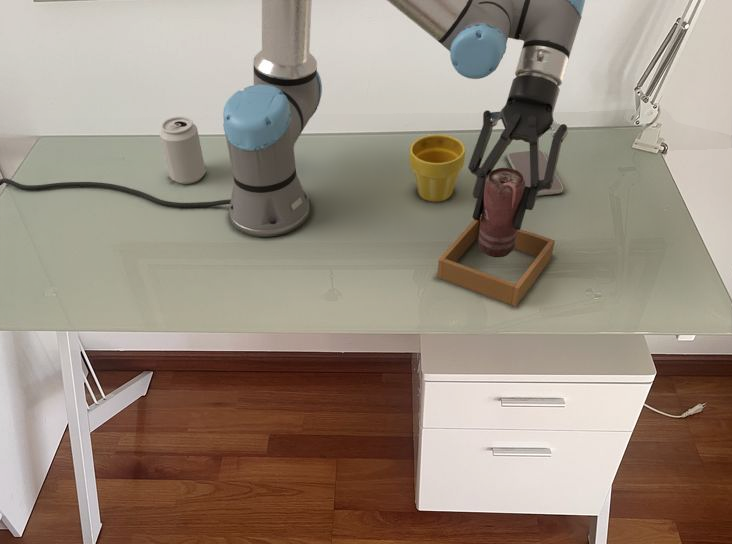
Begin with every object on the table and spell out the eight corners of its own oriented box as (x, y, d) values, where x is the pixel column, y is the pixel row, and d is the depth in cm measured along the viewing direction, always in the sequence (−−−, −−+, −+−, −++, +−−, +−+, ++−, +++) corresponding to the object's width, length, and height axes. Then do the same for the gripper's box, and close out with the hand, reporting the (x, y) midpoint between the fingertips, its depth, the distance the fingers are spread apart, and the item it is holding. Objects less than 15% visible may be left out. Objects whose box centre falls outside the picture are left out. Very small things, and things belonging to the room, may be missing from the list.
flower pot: (459, 209, 144) (463, 164, 137) (405, 205, 146) (406, 161, 139) (464, 179, 151) (467, 135, 144) (412, 176, 153) (413, 132, 146)
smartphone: (541, 149, 156) (565, 189, 145) (541, 153, 156) (564, 193, 146) (506, 152, 155) (527, 193, 145) (505, 156, 156) (526, 197, 145)
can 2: (492, 263, 126) (502, 192, 115) (470, 243, 130) (478, 172, 119) (522, 252, 127) (535, 181, 117) (499, 232, 131) (510, 162, 121)
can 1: (213, 171, 157) (203, 119, 149) (190, 190, 153) (178, 136, 145) (186, 162, 161) (174, 110, 152) (162, 180, 156) (149, 127, 148)
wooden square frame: (437, 277, 130) (438, 259, 128) (476, 233, 139) (477, 214, 136) (515, 306, 124) (518, 288, 121) (551, 258, 132) (555, 240, 130)
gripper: (475, 64, 120) (435, 206, 121) (597, 83, 114) (553, 233, 115) (482, 80, 127) (444, 215, 129) (598, 100, 121) (556, 240, 122)
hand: (496, 223), depth 122 cm, fingers closed on can 2, 6 cm apart
